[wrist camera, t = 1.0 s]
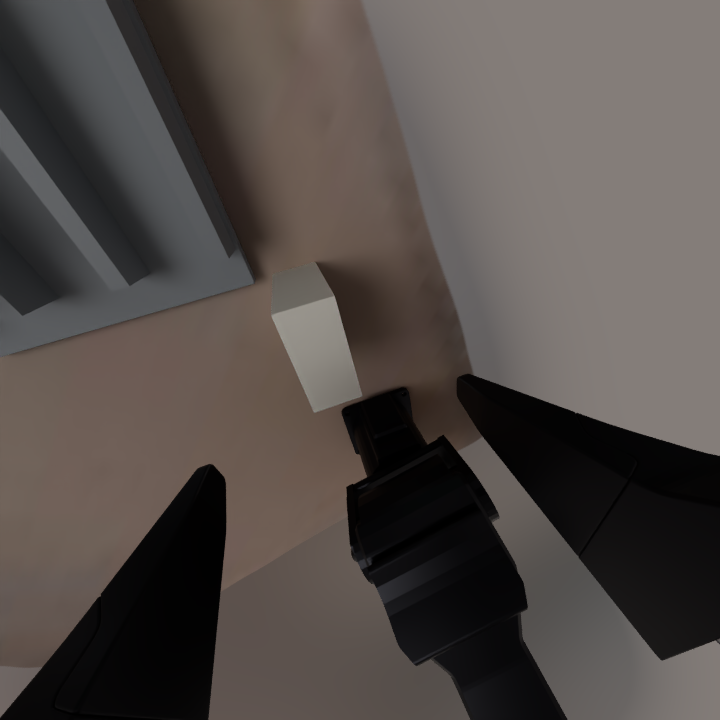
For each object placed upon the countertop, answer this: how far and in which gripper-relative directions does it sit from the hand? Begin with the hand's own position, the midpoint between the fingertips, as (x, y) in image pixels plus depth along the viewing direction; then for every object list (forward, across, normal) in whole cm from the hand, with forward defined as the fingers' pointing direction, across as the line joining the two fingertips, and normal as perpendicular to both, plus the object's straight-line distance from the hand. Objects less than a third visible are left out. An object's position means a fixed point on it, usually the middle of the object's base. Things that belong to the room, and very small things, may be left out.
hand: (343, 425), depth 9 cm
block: (+11, 0, 0) cm, 11 cm away
